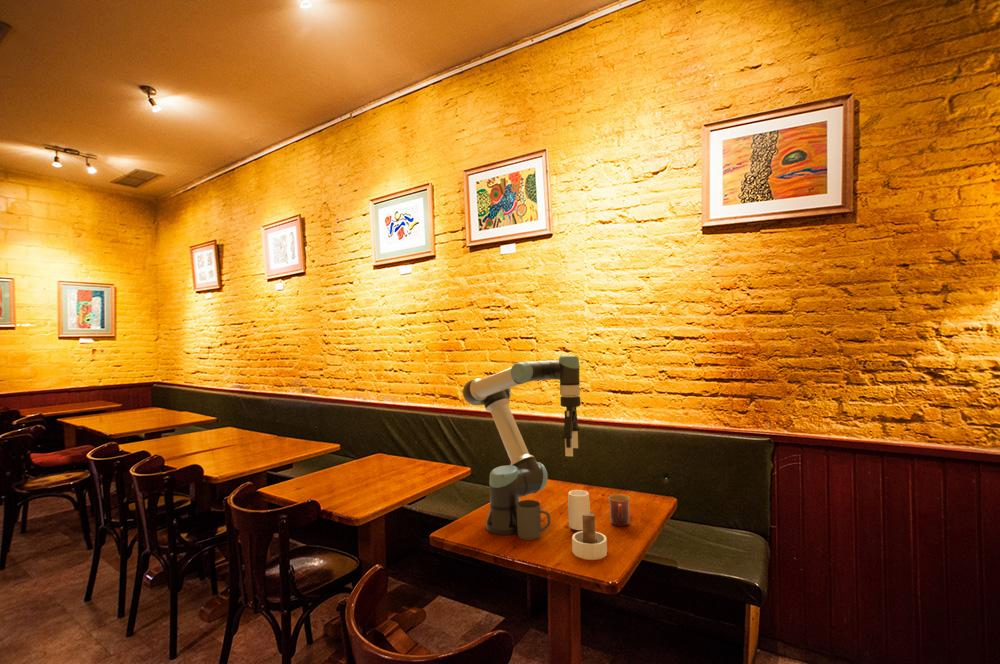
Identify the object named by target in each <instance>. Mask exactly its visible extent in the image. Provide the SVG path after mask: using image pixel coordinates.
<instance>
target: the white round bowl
mask: <svg viewBox="0 0 1000 664" xmlns="http://www.w3.org/2000/svg"><path fill="white" fill-rule="evenodd" d="M595 538H596V543H585V542H583V530H579V531H576V532H575V533H573V534H572V537H571V541H572V542H571V548H572V553H573V554H574V556H575V557H577V558H579V559H582V560H587V561H588V560H590V561H594V560H602V559H603V558H605V557H607V553H608V540H607V536H606V535H604V534H603V533H601V532H599V531H595Z"/></svg>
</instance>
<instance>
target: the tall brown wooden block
mask: <svg viewBox="0 0 1000 664" xmlns="http://www.w3.org/2000/svg"><path fill="white" fill-rule="evenodd" d="M582 520H583V530H582V531H583V542H585V543H596V538H595V532H596V513H592V512H590V513H583V515H582Z"/></svg>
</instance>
